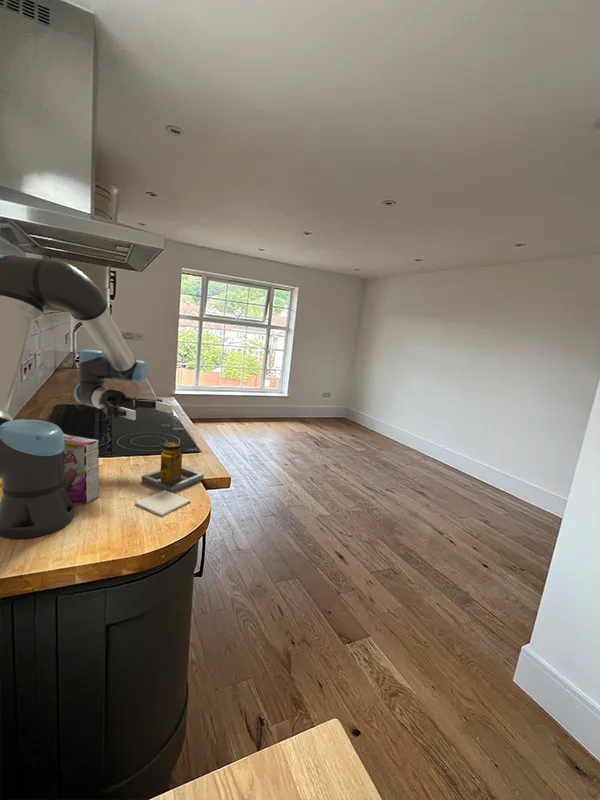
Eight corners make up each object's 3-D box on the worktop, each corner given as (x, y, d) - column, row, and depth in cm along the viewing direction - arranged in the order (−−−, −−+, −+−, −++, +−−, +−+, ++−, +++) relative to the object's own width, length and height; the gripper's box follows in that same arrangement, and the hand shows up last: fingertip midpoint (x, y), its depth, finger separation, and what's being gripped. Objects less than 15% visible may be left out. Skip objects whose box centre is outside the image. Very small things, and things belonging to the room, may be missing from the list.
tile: (161, 516, 94) (161, 514, 94) (135, 504, 99) (135, 502, 99) (190, 502, 103) (190, 500, 103) (164, 491, 108) (164, 489, 108)
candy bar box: (48, 497, 98) (47, 437, 95) (64, 490, 103) (62, 433, 100) (86, 505, 96) (85, 444, 93) (99, 497, 101) (99, 439, 98)
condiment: (154, 481, 114) (155, 443, 112) (176, 473, 121) (178, 438, 119) (169, 488, 110) (170, 450, 108) (192, 480, 117) (193, 444, 115)
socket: (171, 493, 107) (171, 487, 107) (141, 481, 112) (141, 476, 112) (203, 479, 119) (203, 474, 118) (175, 469, 124) (175, 464, 124)
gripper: (141, 405, 137) (183, 417, 128) (72, 416, 116) (117, 431, 106) (141, 385, 136) (183, 395, 126) (72, 393, 114) (117, 405, 105)
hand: (153, 412), depth 116 cm, fingers open, 13 cm apart
